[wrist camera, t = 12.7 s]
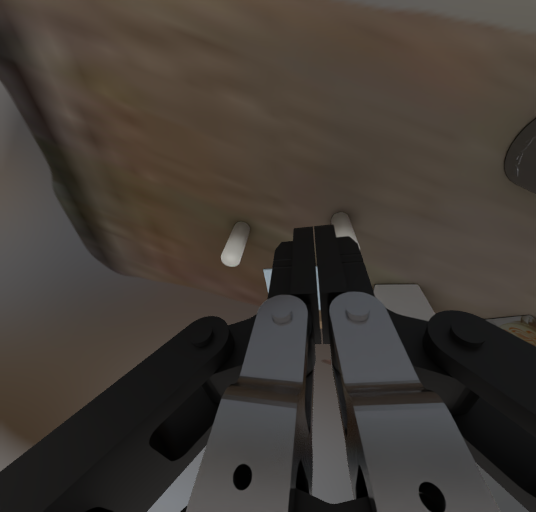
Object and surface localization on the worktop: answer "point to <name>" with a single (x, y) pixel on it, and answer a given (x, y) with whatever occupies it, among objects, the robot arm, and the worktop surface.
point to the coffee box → (518, 327)
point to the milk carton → (404, 300)
